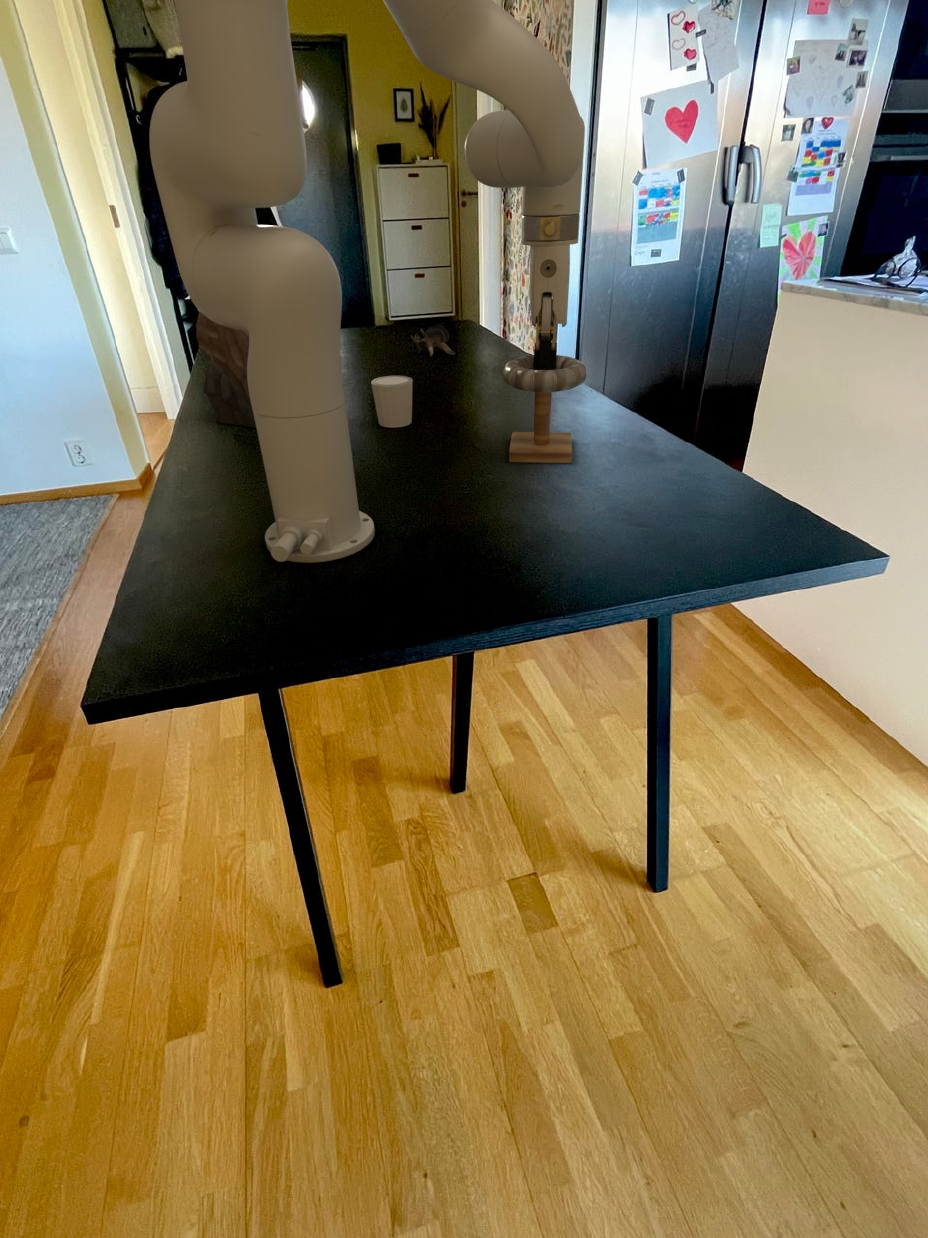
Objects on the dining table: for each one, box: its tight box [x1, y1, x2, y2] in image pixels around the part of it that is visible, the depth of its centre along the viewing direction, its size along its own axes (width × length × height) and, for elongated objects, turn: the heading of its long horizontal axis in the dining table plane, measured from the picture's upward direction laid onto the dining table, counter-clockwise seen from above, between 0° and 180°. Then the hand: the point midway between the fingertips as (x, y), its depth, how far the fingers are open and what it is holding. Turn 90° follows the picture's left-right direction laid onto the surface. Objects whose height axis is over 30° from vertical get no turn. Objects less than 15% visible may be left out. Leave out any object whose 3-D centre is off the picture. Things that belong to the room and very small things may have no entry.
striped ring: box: [502, 354, 587, 393], centre depth 93 cm, size 12×12×3 cm
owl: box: [195, 311, 257, 429], centre depth 113 cm, size 13×13×20 cm
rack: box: [508, 392, 573, 464], centre depth 97 cm, size 9×9×10 cm
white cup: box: [370, 375, 414, 429], centre depth 111 cm, size 7×7×7 cm
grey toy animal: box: [410, 324, 456, 357], centre depth 153 cm, size 8×7×9 cm
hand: (544, 373), depth 98 cm, fingers closed on striped ring, 3 cm apart
